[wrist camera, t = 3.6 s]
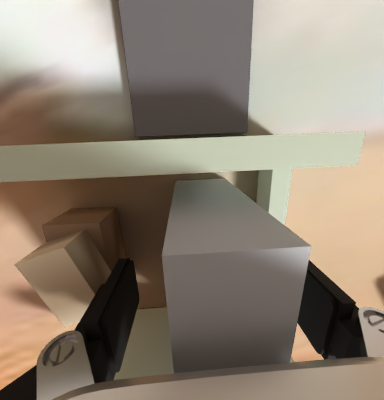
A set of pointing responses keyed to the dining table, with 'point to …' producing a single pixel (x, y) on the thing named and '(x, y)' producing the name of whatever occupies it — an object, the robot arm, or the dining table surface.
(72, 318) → the offcut
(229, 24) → the panel
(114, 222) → the offcut
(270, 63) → the dining table surface
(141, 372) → the rack
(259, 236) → the tall grey upright block
